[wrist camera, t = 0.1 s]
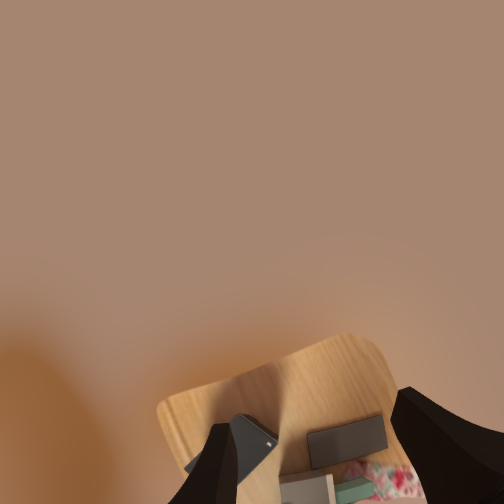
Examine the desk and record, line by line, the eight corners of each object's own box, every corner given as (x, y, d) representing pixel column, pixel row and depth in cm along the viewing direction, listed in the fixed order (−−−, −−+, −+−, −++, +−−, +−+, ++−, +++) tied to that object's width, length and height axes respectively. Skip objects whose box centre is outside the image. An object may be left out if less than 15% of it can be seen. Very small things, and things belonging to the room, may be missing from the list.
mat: (386, 447, 31) (388, 447, 31) (312, 468, 31) (312, 469, 31) (380, 414, 35) (382, 414, 34) (306, 434, 34) (307, 434, 34)
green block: (364, 488, 28) (374, 495, 24) (300, 504, 28) (303, 513, 24) (362, 476, 29) (372, 481, 25) (298, 492, 29) (301, 500, 25)
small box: (246, 412, 37) (238, 409, 29) (280, 436, 35) (282, 442, 26) (201, 458, 33) (180, 468, 24) (234, 484, 30) (222, 501, 22)
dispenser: (330, 516, 26) (339, 528, 21) (285, 524, 26) (287, 538, 21) (324, 467, 31) (332, 474, 26) (278, 475, 31) (279, 484, 26)
